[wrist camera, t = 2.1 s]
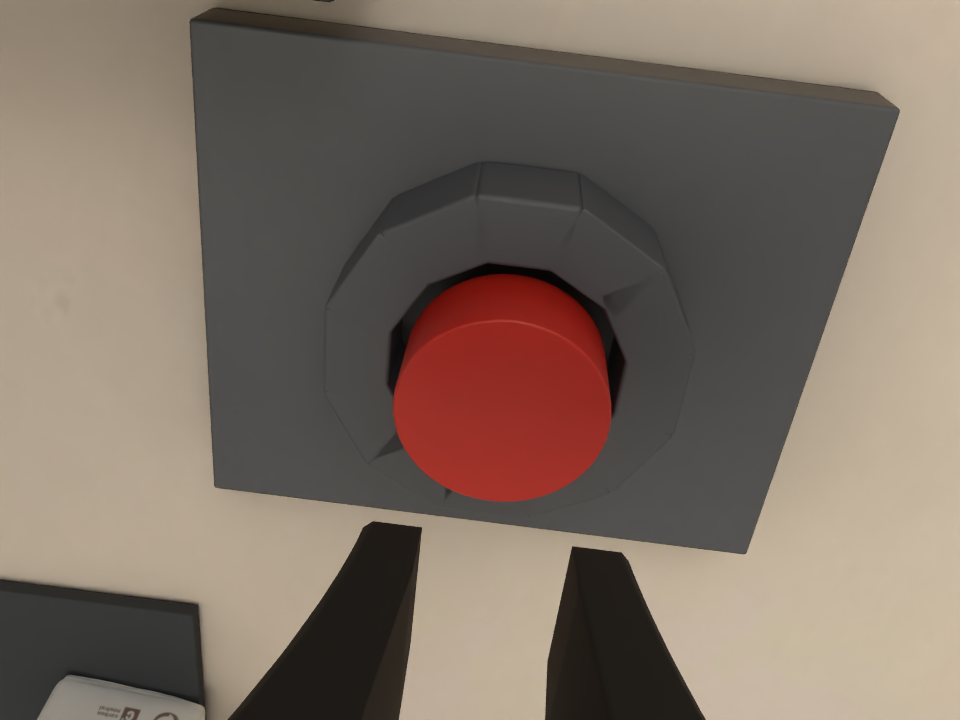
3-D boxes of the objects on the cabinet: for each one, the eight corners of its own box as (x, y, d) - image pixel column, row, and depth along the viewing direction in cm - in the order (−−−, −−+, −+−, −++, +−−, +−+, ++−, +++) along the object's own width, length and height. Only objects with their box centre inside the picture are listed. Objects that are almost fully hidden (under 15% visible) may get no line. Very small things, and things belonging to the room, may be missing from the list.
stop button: (399, 432, 17) (386, 489, 16) (413, 259, 15) (399, 306, 14) (587, 455, 17) (591, 514, 16) (622, 286, 15) (631, 335, 14)
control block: (229, 456, 21) (185, 543, 18) (210, 7, 16) (145, 39, 13) (736, 520, 21) (764, 616, 18) (879, 91, 16) (944, 140, 13)
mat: (-97, 789, 29) (-105, 801, 28) (-180, 556, 23) (-191, 567, 23) (214, 828, 29) (210, 840, 28) (198, 604, 23) (192, 615, 23)
